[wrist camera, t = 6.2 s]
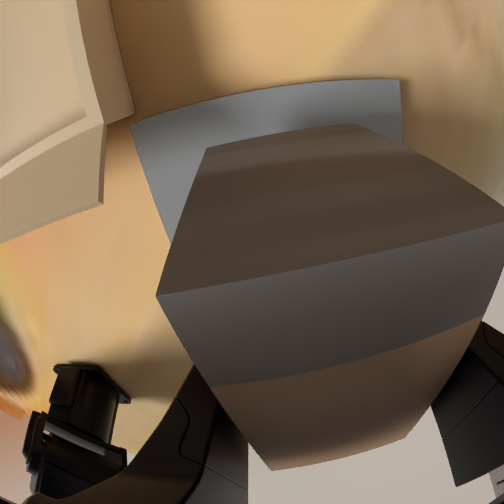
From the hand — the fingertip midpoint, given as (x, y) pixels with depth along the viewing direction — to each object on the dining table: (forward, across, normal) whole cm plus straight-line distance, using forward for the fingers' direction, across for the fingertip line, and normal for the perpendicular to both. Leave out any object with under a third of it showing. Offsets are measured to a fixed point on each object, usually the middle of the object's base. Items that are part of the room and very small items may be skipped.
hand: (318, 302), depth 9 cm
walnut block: (+3, 0, 0) cm, 3 cm away
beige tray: (+7, +14, -13) cm, 20 cm away
